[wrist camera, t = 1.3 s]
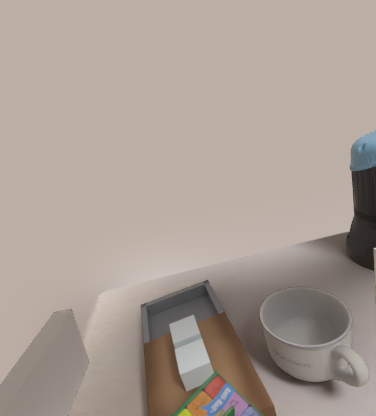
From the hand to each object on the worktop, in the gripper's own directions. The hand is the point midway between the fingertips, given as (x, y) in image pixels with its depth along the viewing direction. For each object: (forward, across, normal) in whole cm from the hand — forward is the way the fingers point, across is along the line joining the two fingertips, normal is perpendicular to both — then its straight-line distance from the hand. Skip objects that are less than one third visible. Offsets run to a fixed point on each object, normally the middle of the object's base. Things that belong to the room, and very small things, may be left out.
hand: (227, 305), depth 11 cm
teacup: (+19, +12, -24) cm, 33 cm away
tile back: (+25, -5, -22) cm, 33 cm away
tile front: (+20, -4, -22) cm, 30 cm away
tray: (+33, -6, -24) cm, 41 cm away
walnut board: (+20, -4, -25) cm, 33 cm away
